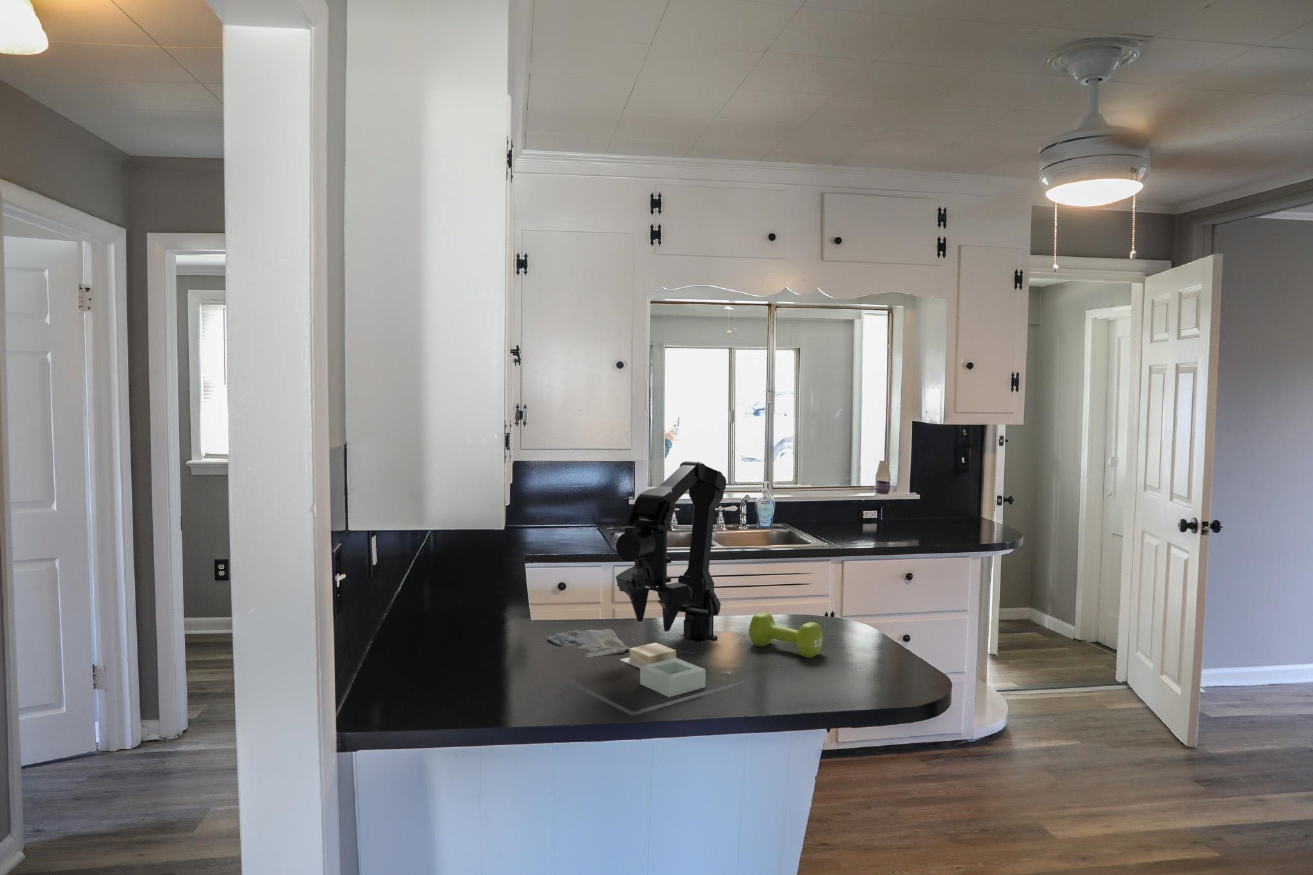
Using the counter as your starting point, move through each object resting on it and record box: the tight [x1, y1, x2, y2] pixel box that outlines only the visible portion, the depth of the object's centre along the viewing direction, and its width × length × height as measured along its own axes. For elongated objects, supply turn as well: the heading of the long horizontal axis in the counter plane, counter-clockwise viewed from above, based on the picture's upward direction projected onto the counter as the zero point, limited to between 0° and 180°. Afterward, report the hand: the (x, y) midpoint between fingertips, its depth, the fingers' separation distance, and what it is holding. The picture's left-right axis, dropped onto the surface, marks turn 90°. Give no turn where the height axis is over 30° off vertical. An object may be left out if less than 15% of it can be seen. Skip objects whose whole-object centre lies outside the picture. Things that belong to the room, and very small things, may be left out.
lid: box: [629, 642, 677, 666], centre depth 176 cm, size 7×7×2 cm
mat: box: [619, 656, 642, 669], centre depth 176 cm, size 10×10×1 cm
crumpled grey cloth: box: [547, 628, 630, 658], centre depth 188 cm, size 18×15×2 cm
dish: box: [639, 657, 707, 698], centre depth 161 cm, size 9×9×4 cm
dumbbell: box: [748, 611, 824, 659], centre depth 187 cm, size 16×8×7 cm, turn 49°
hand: (653, 626), depth 176 cm, fingers open, 9 cm apart
